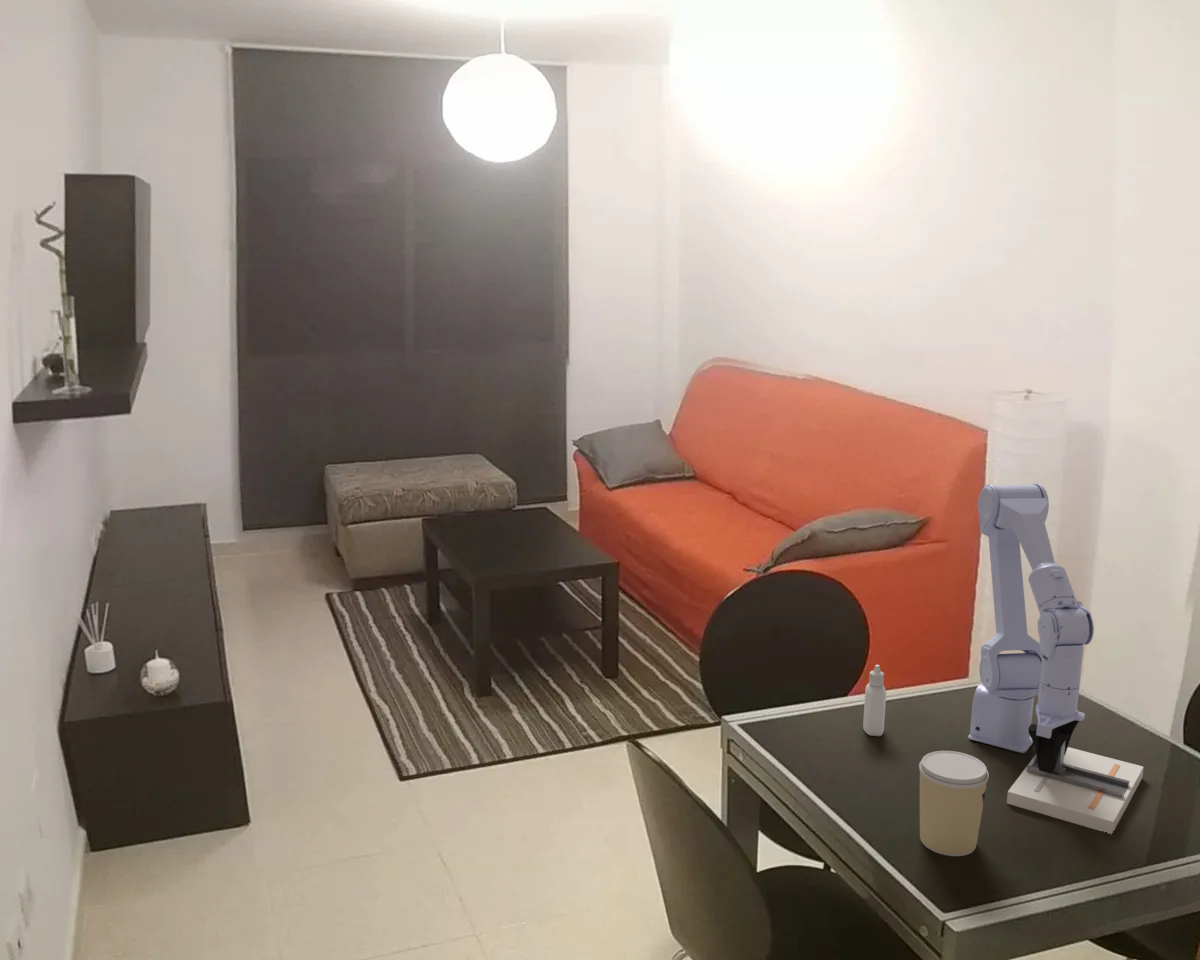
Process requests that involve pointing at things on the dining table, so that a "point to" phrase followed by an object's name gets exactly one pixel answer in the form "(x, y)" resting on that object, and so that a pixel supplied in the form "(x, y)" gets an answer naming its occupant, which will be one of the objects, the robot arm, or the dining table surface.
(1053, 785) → the console
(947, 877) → the dining table surface
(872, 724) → the eye dropper bottle
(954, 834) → the coffee cup
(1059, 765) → the fader tab
